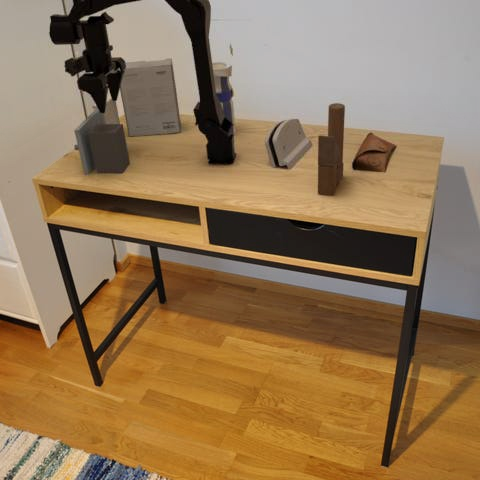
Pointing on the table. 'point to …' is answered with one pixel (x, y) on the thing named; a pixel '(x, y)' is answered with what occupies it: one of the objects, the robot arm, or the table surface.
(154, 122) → the hard drive box
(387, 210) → the table surface
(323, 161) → the wooden block
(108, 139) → the doorstop block
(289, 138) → the hinge
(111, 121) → the wall frame
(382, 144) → the sunglasses case
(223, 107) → the water bottle
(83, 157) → the door
